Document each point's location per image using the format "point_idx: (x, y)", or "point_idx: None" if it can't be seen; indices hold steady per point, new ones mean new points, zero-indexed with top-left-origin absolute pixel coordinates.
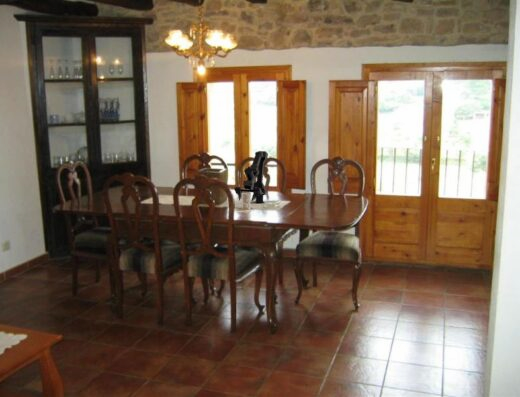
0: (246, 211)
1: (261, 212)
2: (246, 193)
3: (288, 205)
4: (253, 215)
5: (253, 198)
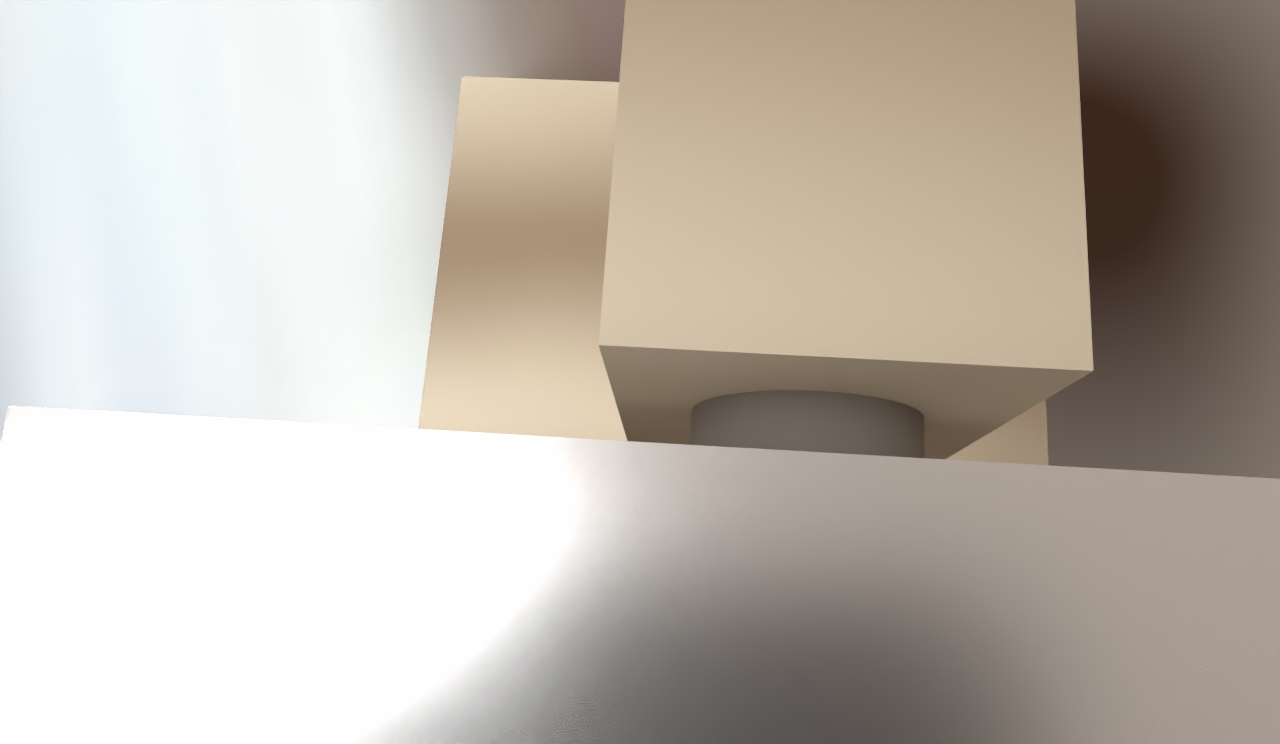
0: (595, 230)
1: None
2: (696, 466)
3: None
4: (297, 34)
5: None
